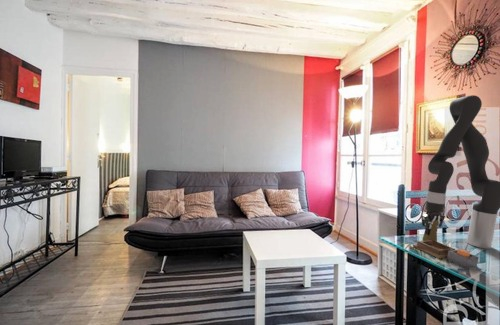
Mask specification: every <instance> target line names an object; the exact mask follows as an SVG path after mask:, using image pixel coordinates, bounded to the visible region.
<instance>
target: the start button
mask: <svg viewBox="0 0 500 325" xmlns="http://www.w3.org/2000/svg"><path fill="white" fill-rule="evenodd" d="M456 250H457V254H460V255H462V256H464V257H469V256H470V254H471V252H470V251H469V250H465V249H461V248H458V249H456Z"/></svg>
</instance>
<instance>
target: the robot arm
mask: <svg viewBox="0 0 500 325" xmlns="http://www.w3.org/2000/svg"><path fill="white" fill-rule="evenodd" d="M482 104H483V102H482V100H481V98H480V97H479V96H477V95H465V96H462V97H458V98H454V99H453V100H452V101H451V102H450V103H449V113H450V115H451V117H452V120H453V122H454V125H453V126H452V127H451V128H450V129H449V131H448V132H447V133H446V134H445V136H444V137H443V139H442V140H441V143H440V146H439V148H438V149H437V152H435V154H434V155H433V156H432V158H431V159H430V160H429V163H428V164H427V165H428V167H427V169H428V172H429V173H430V174H432V175H436V176H437V177H436V179H431V180H429V182H428V183H429V184H428V191H427V193H426V199H425V206H424V209H425V210H426V213H425V214H421V226H422V227H424V228H425V229H424V232H425V234H426V235H428V236H429V235H430V231H431V227H432V224H433V222H434V221H435V220H438V222H439V225H438V226H437V230H438V229H439V228H441V227H442V225H443V223H444V221H445V218H446V215H443V214H442V213H444V212H445V206H446V198H447V196H446V194H447V187H448V184H449V182H450V180H451V178H452V176H453V175H454V165H453V164H452V163H451V161H447V160H448V159H450V158H451V159H452V158H454V157H455V156H456V154H457V152H458V150H459V147H460V145H461V147H462V150H463V153H464V157H465V160H466V164H467V168H468V172H469V179H470V184H471V187H470V188H471V190H472V192H473V193H474V194H475V195H476V196H478V197H481V200H480V202H478V203H477V202H476V203H473V205H472V209H471V213H470V214H471V215H470V220H469V221H470V222H469V227H468V233H467V237H466V238H467V239H466V243H467V244H468V245H471V246H474V247H477V248H480V249H484V250H485V249H486V250H488V249H489V250H490V249H492V247H491V246H493V239H494V235H495V230H496V229H495V228H496V222H497V216H498V212H499V211H500V181H498V180H495V179H491V178H488V175H487V171H486V164H487V162H488V159H489V156H490V149H489V146H488V141H487V139H486V137H484V135H483V133H482V132H481V131H480V130H478V129H477V127H475V126H474V124H473V122H474V121H475V119H476V117H477V115H478V114H479V112H480V111H481V109H482ZM428 220H429V221H431V222H428ZM428 223H429V224H428Z"/></svg>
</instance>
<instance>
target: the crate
mask: <svg viewBox="0 0 500 325" xmlns="http://www.w3.org/2000/svg"><path fill="white" fill-rule="evenodd" d="M412 248H415V249H417V250H420V251H421V252H424V253H426V254H428V255H430V256H432V257H434V256H435V258H437V259H439V258H440V259H447V256H448V251H450V250H456V248H454V247H451V246H450V245H447V244H444V243H441V242H438V241H437V242H436V241H434V240H426V241H425V240H417V241H416V243H415V244H413V245H412Z"/></svg>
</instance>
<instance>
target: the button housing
mask: <svg viewBox="0 0 500 325" xmlns="http://www.w3.org/2000/svg"><path fill="white" fill-rule="evenodd" d="M446 260H447V261H448V262H450V263H453V264H456V265H457V266H459V267H461V268H465V269H469V268H476V267H478V262H479V256H476V255H474V254H472V253H470V256H469V257H464V256H462V255H460V254H457V249H455V250H450V251H448V256H447V258H446Z"/></svg>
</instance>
